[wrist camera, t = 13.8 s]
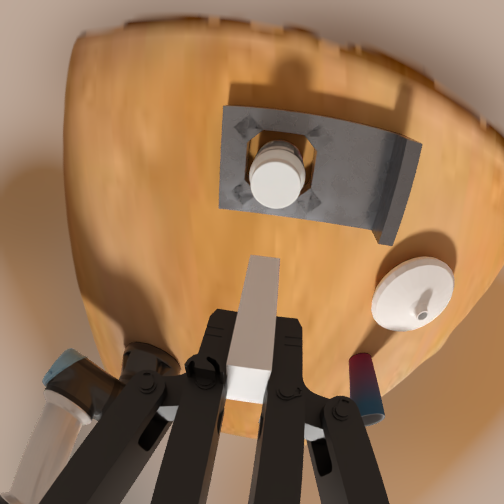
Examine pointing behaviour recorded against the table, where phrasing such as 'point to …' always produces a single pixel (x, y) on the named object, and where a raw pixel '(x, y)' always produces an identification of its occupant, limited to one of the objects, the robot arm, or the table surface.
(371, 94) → the table surface
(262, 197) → the pill bottle
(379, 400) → the cup
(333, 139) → the jig
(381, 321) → the lid
